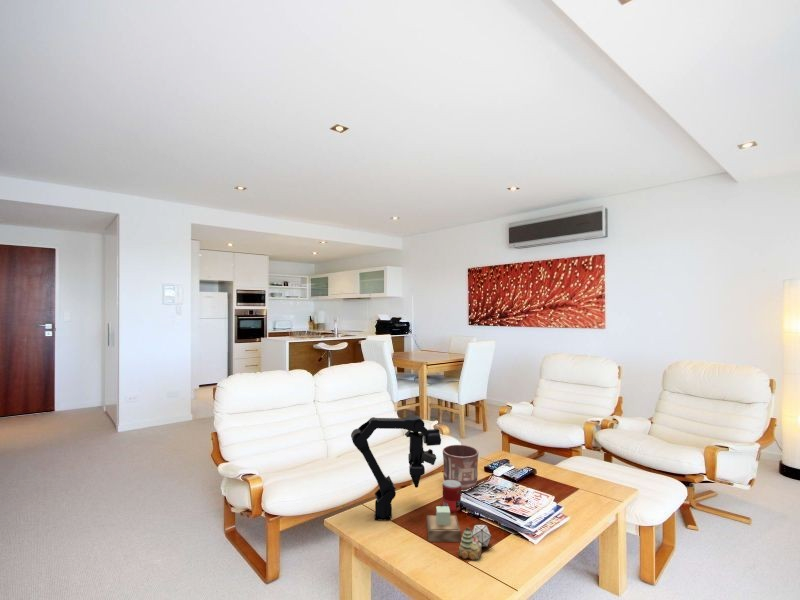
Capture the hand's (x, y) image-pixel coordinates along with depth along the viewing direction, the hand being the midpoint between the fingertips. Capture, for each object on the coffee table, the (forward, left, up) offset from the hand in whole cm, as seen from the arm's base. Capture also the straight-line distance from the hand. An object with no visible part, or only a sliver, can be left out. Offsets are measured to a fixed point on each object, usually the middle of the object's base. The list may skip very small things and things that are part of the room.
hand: (416, 482), depth 185 cm
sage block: (+10, -16, -9) cm, 21 cm away
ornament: (+18, -31, -13) cm, 38 cm away
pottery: (+23, +27, -13) cm, 38 cm away
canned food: (+16, +5, -13) cm, 21 cm away
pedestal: (+10, -16, -13) cm, 23 cm away
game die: (+23, -25, -13) cm, 36 cm away
